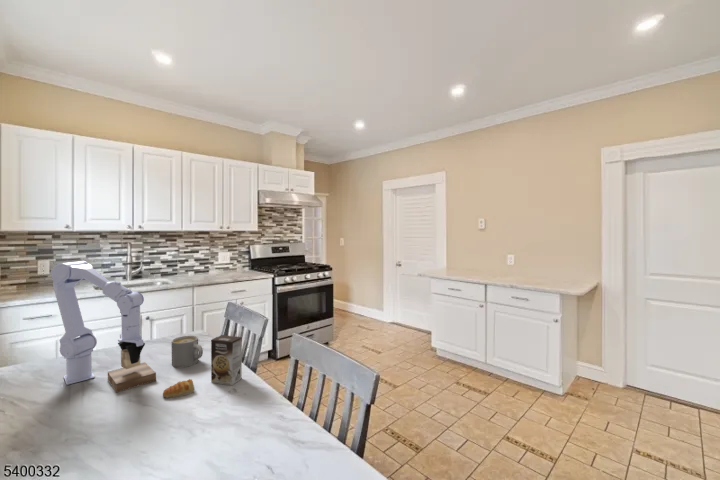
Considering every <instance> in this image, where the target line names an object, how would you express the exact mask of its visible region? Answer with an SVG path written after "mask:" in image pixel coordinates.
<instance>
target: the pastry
mask: <svg viewBox="0 0 720 480" xmlns="http://www.w3.org/2000/svg"><path fill="white" fill-rule="evenodd" d="M195 391H196V390H195V385H194V381H193V379H192V378H191V379H190V378H188V379H186V380H181V381H178V382H177V383H175V384H173V385H171V386H168V388H165V390H163V392H162V397H164V398H166V399H171V398H179V397H182V396H187V395H190V394H192V393H194V392H195Z"/></svg>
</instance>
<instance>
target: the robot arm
mask: <svg viewBox="0 0 720 480" xmlns="http://www.w3.org/2000/svg"><path fill="white" fill-rule="evenodd" d="M50 275H51V279H52V283H53V285H52V286H53V290H54V294H55V298H56V302H57V305H58V309H59V312H60V316H61V320H62V324H63V328H64V331H65V332H64V334H63V335H62V336H61V337H60V339H59V344H60V345H59V352H60V355H61V356H62V357H63V359H65V362H66V363H65V368H66V374H65V375H63V380H64V382H65V385H67V386H68V385H72V384H75V383H79V382H82V381H83V382H84V381H87V380H92V379H94V378H95V377H96V376H95V374H94V373H93V370H92V369H93V366H92V364H93V363H92V353H93V352H94V349H95V347H97V344H98V343H97V342H98V340H97V337H96V336H95V335H94V334H93V329H91V328H88V327H86V326H85V323H84V321H83V317H82V312H81V308H80V304H79V302H78V297H77V294H76V290H75V287H76V286H77V284H78V283H80V282H81V281H82V280H85V281H87V282H89V283H90V284H93V285H94V286H97V287H98V288H99V289H101V290H102V294H103V295H104V296H106V297H108V298H109V299H111V300H112V301H114V302H116V306H117V307H118V309H119V314H120V315H121V333H120V334H119V338H118V339H117V341H118V342H117V344H118V346H119V347H120V349H121V350H124V349H127V350H128V352H129V356H130V361H131V364H134V363H137V362H138V361H139V357H140V358H141V353H142V350H143V349H144V347H145V345H146V343H145V342H144V339H143V338H142V335H141V306H142V305H143V303H144V300H145V299H144V295H143V293H141V292H140V291H137V290H134V291H133V290H132V289H130V288H128V287H126V286H124V285H123V284H122V282H121V281H116V280H113V281H110V280H109V279H108V278H106V277H105V276H104V275H103V274H101V273H99V272H98V271H97V270H96V269H94V266H93V265H92V264H90V263H89V262H87V261H85V260H80V261H72V262H70V261H69V262H59V263H56V264H55V265H54V266H53V268H52V269H51V270H50Z"/></svg>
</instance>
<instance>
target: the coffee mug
mask: <svg viewBox="0 0 720 480" xmlns="http://www.w3.org/2000/svg"><path fill="white" fill-rule="evenodd" d="M203 351H204V349H203V346H202V345H200V344H199V337H198V336H197V335H182V336H178V337H176V338H172V340H171V366H172V367H173V368H180V369H181V368H186V367H190V366H194V365H196V364H197V363H198V362H199V359H200V358H202V357H203V354H204V352H203Z"/></svg>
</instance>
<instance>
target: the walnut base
mask: <svg viewBox="0 0 720 480" xmlns="http://www.w3.org/2000/svg"><path fill="white" fill-rule="evenodd" d="M107 380H108V382H109V384H110V385H111V386H112V388H113V389H114V391H115V393H119V392H123V391H127V390H129V389H134V388H135V387H139V386H143V385H145V384H146V385H147V384H150V383H154V382H156V381H157V372H156V371H155V370H154V369H153V368H152V367H151V366H149V365H148V363H146V361H143V362H140V365H138V366H135V367H132V368H129V369H125V368H123V367H121V368H116V369H114V370H109V371H107Z"/></svg>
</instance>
